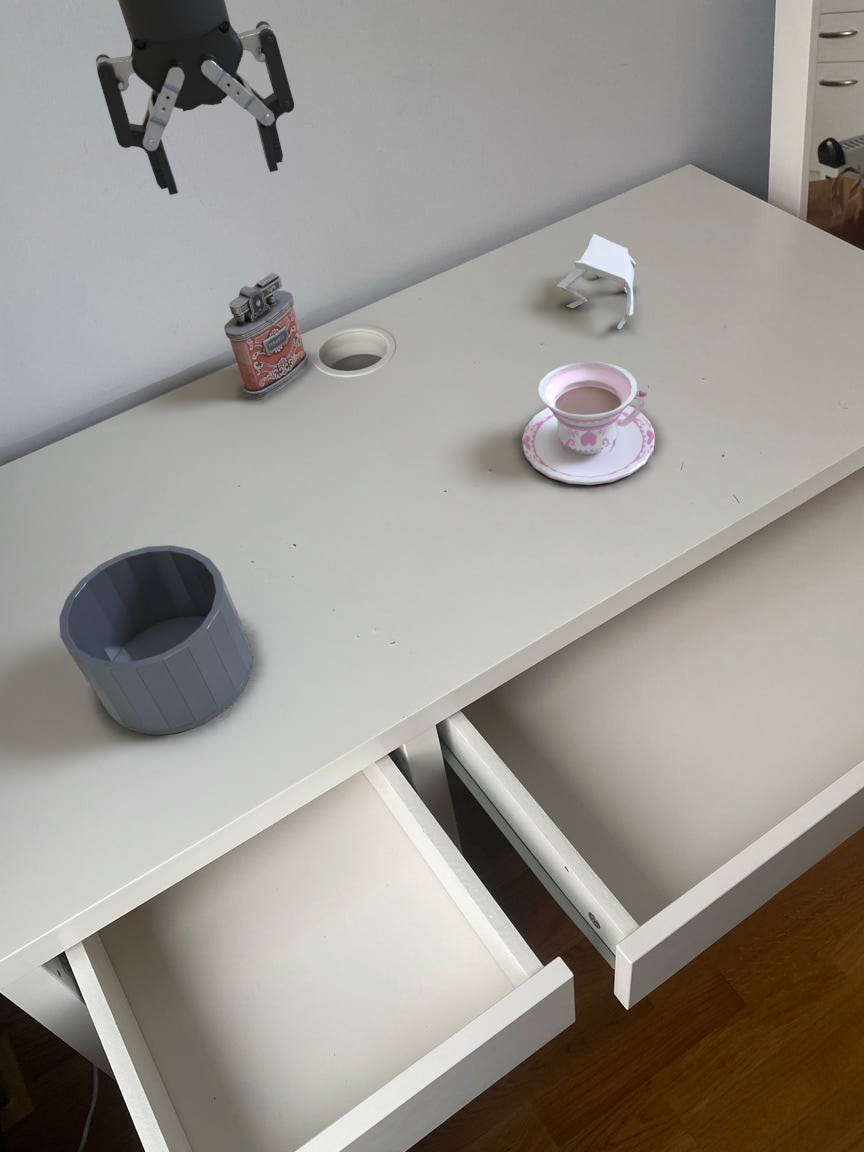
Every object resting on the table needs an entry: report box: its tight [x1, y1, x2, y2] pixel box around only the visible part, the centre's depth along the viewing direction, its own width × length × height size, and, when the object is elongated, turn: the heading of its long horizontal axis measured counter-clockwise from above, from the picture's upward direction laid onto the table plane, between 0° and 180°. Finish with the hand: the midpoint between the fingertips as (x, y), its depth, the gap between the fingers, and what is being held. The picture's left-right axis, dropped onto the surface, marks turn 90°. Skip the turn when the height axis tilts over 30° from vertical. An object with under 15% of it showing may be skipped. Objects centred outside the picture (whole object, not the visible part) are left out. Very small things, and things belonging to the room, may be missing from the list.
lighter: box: [223, 272, 310, 401], centre depth 95 cm, size 8×3×10 cm, turn 143°
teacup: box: [521, 361, 656, 486], centre depth 86 cm, size 12×12×6 cm
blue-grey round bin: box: [58, 544, 253, 736], centre depth 72 cm, size 12×12×8 cm
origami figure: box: [556, 233, 637, 330], centre depth 100 cm, size 12×8×5 cm
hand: (223, 179), depth 82 cm, fingers open, 8 cm apart
